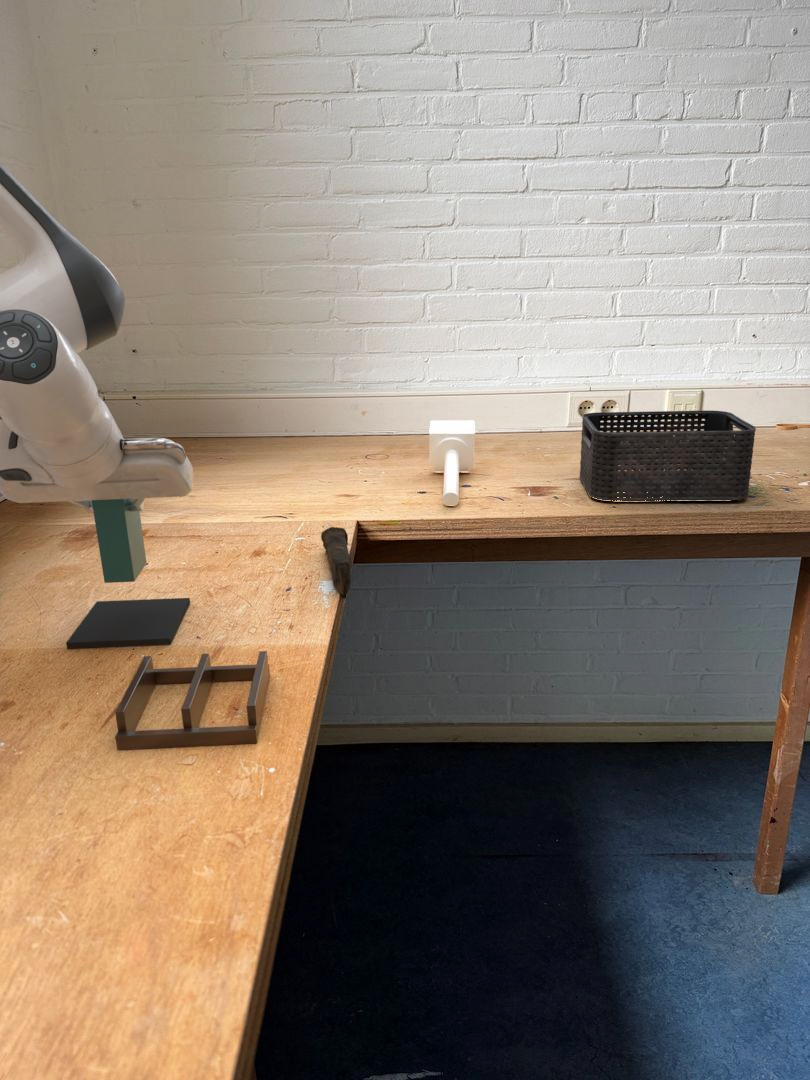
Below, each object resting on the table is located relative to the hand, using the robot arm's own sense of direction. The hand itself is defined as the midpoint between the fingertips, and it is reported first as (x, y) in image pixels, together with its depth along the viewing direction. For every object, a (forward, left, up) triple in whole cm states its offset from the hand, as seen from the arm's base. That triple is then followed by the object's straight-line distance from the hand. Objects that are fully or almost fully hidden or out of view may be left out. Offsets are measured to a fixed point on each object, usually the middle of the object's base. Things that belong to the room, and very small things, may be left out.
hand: (116, 506), depth 94 cm
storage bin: (+86, +52, -15) cm, 102 cm away
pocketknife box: (0, 0, -8) cm, 8 cm away
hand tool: (+26, +15, -15) cm, 34 cm away
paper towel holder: (+47, +60, -15) cm, 78 cm away
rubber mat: (0, 0, -15) cm, 15 cm away
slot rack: (+12, -21, -15) cm, 29 cm away
